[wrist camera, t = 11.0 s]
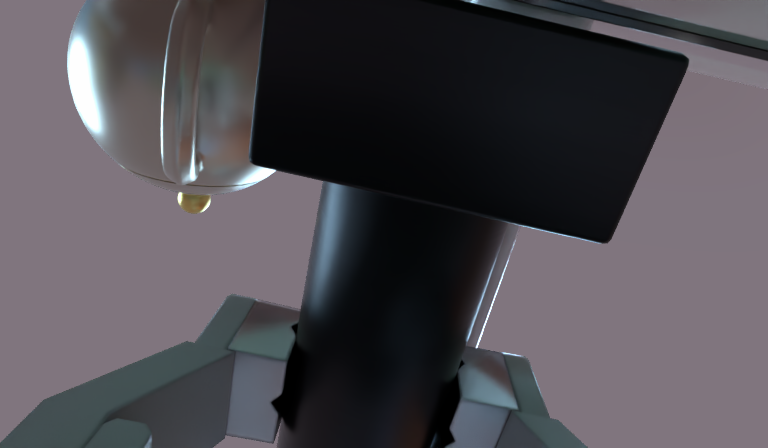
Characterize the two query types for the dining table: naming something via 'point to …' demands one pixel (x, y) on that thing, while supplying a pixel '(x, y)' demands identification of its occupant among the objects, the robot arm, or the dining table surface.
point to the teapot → (171, 90)
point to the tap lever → (434, 183)
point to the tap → (660, 29)
